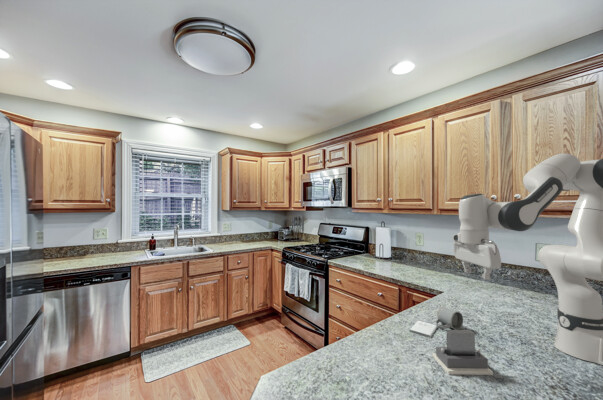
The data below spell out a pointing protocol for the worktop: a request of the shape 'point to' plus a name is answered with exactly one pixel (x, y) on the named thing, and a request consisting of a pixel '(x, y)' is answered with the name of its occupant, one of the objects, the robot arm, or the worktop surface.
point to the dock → (464, 371)
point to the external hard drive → (423, 329)
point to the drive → (460, 343)
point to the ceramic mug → (449, 319)
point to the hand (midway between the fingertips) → (476, 275)
